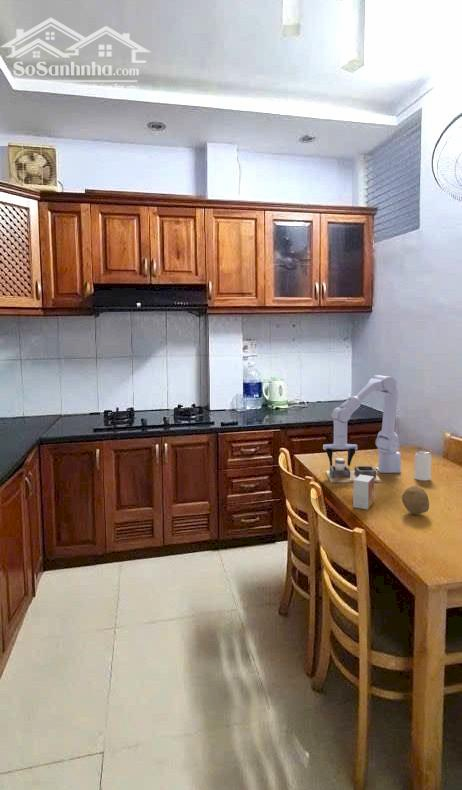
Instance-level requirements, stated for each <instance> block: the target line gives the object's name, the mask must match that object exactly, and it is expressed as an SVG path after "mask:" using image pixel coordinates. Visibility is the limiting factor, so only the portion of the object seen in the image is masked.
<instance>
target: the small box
mask: <svg viewBox="0 0 462 790" xmlns="http://www.w3.org/2000/svg"><path fill="white" fill-rule="evenodd" d="M352 492H353V496H352V498H353V499H352V503H353V504H352V507H353V508H356V509H362V510H369V509H370V508H371V506H372V505H374V504H375V503H374V497H375V496H374V495H375V482H374V476H368V475H361V474H360V475H359V476H358V477H357V478H356V479H354V482H353V491H352Z"/></svg>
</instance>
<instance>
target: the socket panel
mask: <svg viewBox="0 0 462 790" xmlns="http://www.w3.org/2000/svg"><path fill="white" fill-rule="evenodd" d="M376 470H377V469H376V468H374V466H372V465H354V470H351V469H350V468H349V466H348V465H345V470H344V471H335V465H332V466H330V465H329V469H328V470H326V469H325V473H326V475H327V477H328V479H329V482H330V483H354V479H356V478H357V477H358V476H359V475H360V474H361V475H368V476H374V483H381V482H382V479H380V477H379V476H378V475H377V471H376Z"/></svg>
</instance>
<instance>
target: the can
mask: <svg viewBox="0 0 462 790" xmlns="http://www.w3.org/2000/svg"><path fill="white" fill-rule="evenodd" d="M413 475H414V479H415V480H417V481H420V482H427V481H430V480H431V475H432V454H431V451H429V450H426V449H425V450H423V449H421V450H420V449H419V450H416V453H415V454H414V474H413Z"/></svg>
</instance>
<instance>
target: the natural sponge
mask: <svg viewBox="0 0 462 790" xmlns="http://www.w3.org/2000/svg"><path fill="white" fill-rule="evenodd" d="M401 501H402V502H401V503H402V504H403V506H404V507H405V509H406V510H407V511H408V513H410V514H411V515H414V516H418V515H421V514H423V513H427V512H428V511H429V509H430V500H429V496H428V494H427V491H425V490H424V489H423V488H421V487H419V486H417V485H415V486H410V487H408V488H407V489H405V490H404V492H403V493H402V495H401Z"/></svg>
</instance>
